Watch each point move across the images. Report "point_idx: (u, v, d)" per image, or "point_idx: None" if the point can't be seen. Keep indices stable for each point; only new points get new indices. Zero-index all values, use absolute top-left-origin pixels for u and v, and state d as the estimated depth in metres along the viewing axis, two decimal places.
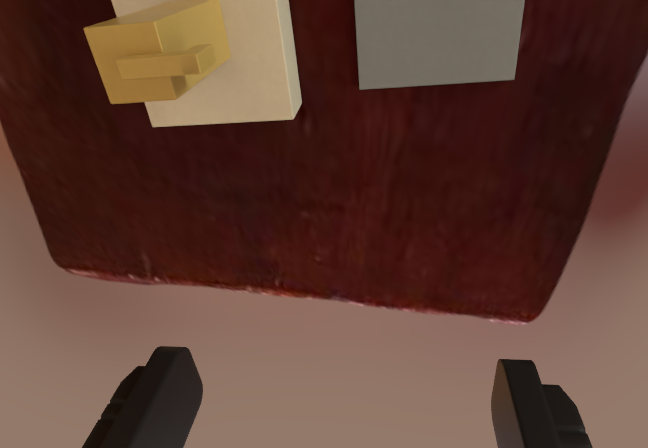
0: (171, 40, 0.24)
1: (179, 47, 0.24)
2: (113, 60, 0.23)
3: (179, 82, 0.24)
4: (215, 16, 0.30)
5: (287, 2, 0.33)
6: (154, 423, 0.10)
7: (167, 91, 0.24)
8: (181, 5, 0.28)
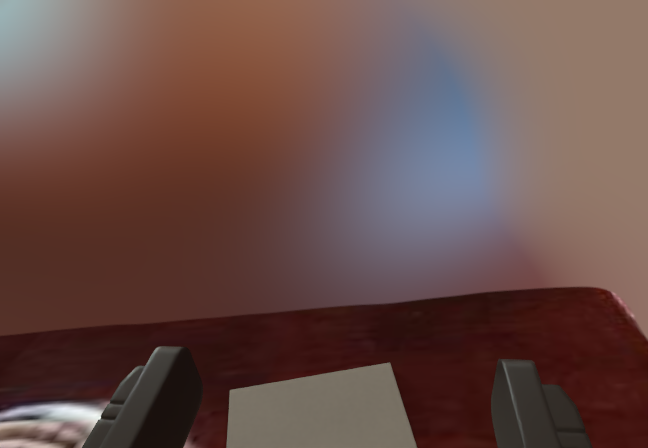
0: None
1: None
2: None
3: None
4: None
5: None
6: (154, 424, 0.10)
7: None
8: None
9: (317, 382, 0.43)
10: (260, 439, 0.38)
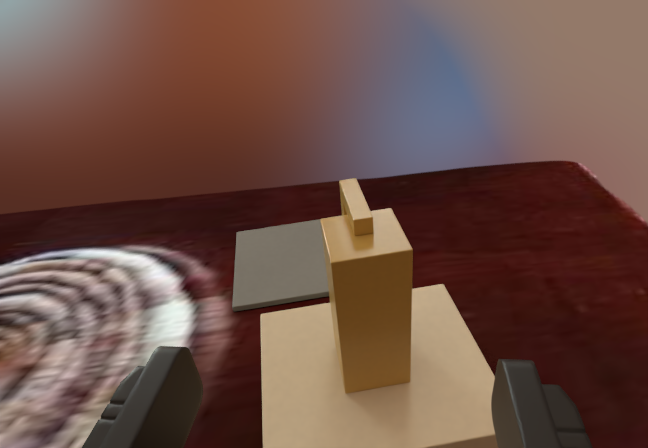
0: None
1: None
2: (361, 243, 0.22)
3: None
4: None
5: None
6: (154, 423, 0.10)
7: (384, 212, 0.24)
8: (333, 320, 0.27)
9: (314, 224, 0.48)
10: (264, 258, 0.44)
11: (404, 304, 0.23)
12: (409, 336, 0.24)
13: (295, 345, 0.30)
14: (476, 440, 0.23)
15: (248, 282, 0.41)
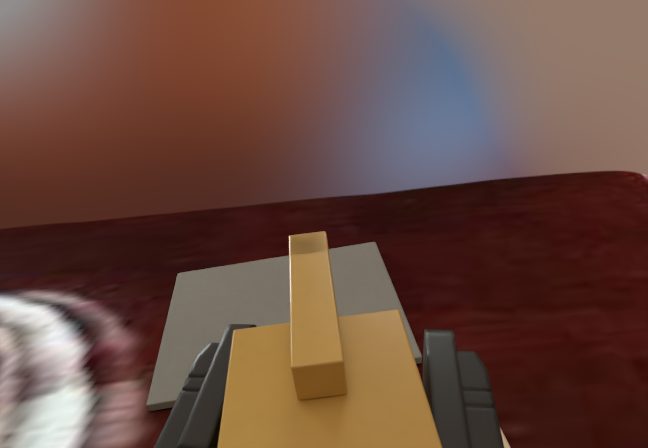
0: None
1: None
2: (308, 434, 0.08)
3: None
4: None
5: None
6: None
7: (381, 321, 0.10)
8: None
9: (285, 262, 0.35)
10: (208, 317, 0.30)
11: None
12: None
13: None
14: None
15: (178, 358, 0.27)
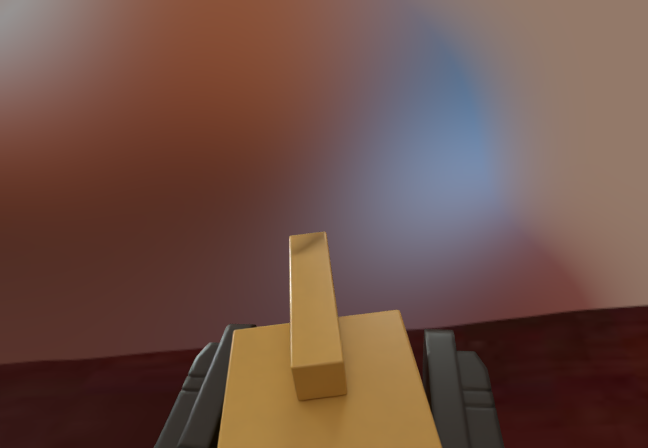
0: None
1: None
2: (308, 434, 0.08)
3: None
4: None
5: None
6: None
7: (381, 321, 0.10)
8: None
9: None
10: None
11: None
12: None
13: None
14: None
15: None
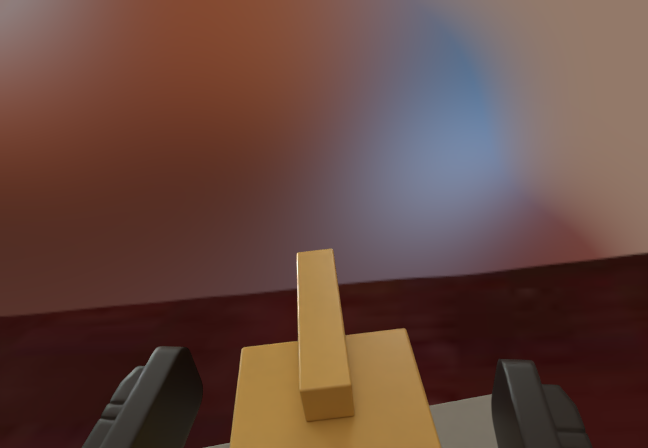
0: None
1: None
2: None
3: None
4: None
5: None
6: (154, 423, 0.10)
7: (388, 340, 0.10)
8: None
9: None
10: None
11: None
12: None
13: None
14: None
15: None
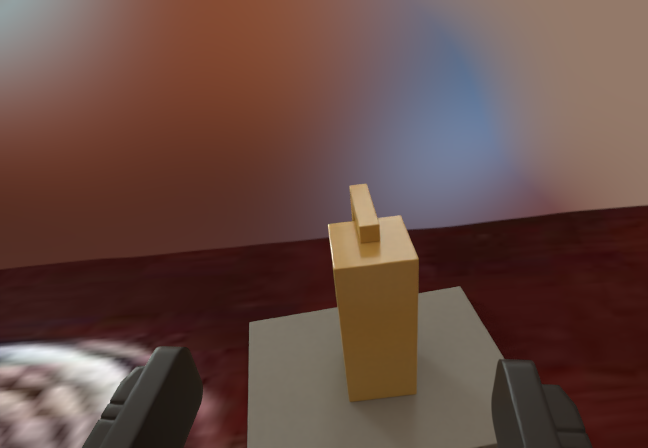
0: None
1: None
2: (366, 251, 0.21)
3: None
4: None
5: None
6: (154, 423, 0.10)
7: (393, 219, 0.23)
8: None
9: None
10: (295, 378, 0.28)
11: (409, 314, 0.22)
12: (415, 347, 0.24)
13: None
14: None
15: (271, 430, 0.25)
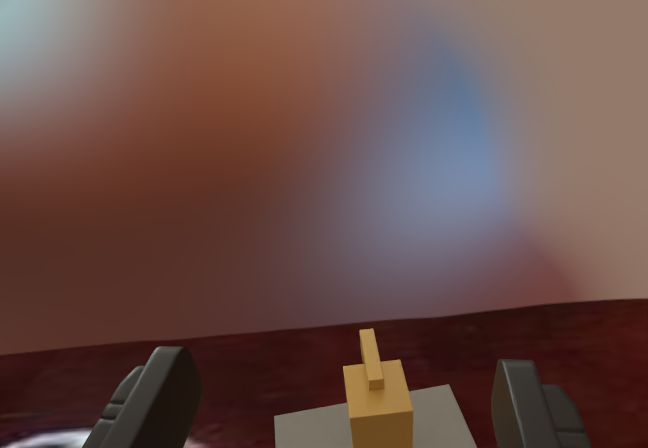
0: None
1: None
2: (373, 399, 0.28)
3: None
4: None
5: None
6: (154, 423, 0.10)
7: (394, 364, 0.30)
8: (351, 437, 0.33)
9: None
10: None
11: (406, 443, 0.29)
12: None
13: None
14: None
15: None
